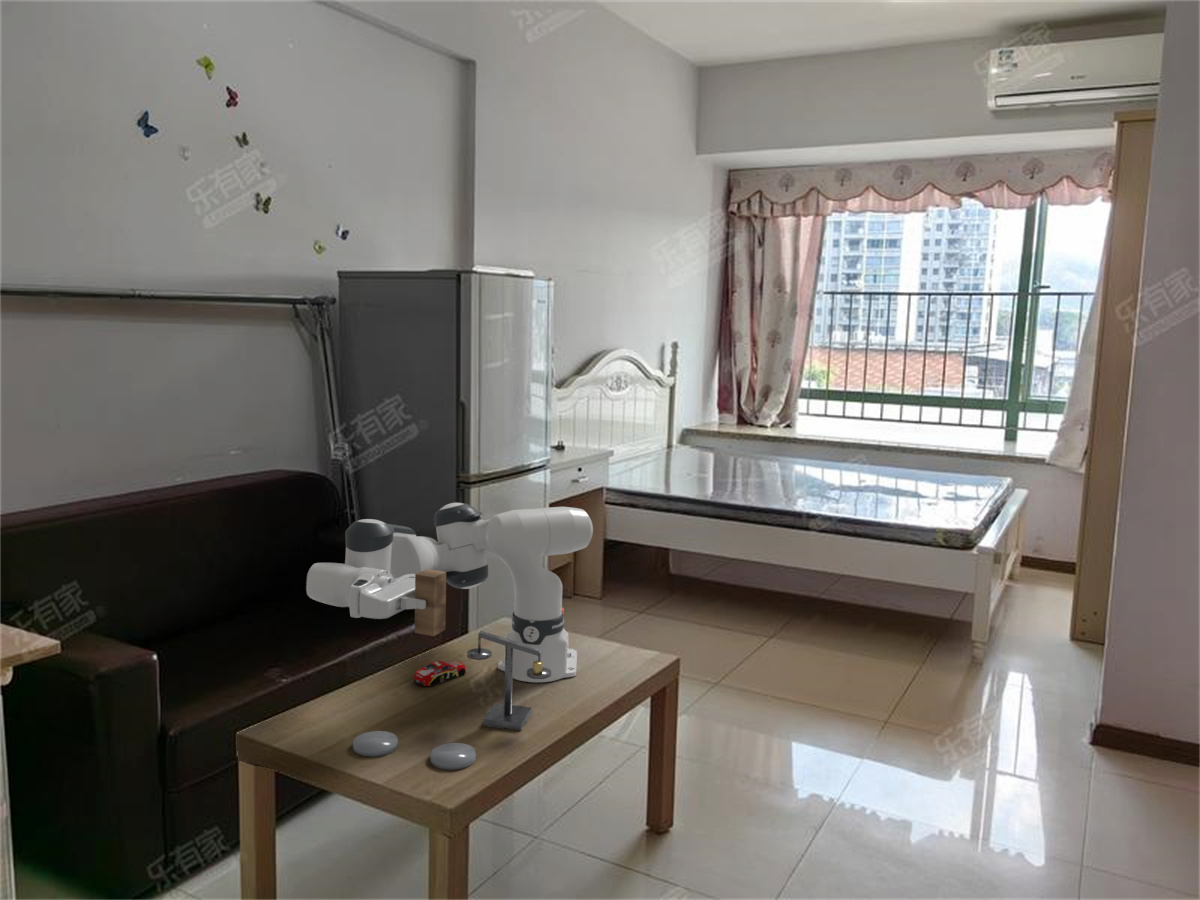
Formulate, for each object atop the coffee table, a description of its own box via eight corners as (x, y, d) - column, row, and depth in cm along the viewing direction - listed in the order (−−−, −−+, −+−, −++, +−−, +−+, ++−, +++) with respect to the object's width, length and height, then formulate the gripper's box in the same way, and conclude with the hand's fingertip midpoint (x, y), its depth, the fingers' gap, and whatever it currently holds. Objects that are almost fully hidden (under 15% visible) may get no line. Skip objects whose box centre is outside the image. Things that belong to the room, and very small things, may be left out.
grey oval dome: (364, 734, 184) (364, 728, 184) (404, 739, 183) (404, 733, 183) (345, 753, 176) (345, 747, 176) (387, 759, 175) (387, 753, 175)
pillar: (426, 626, 191) (427, 569, 189) (445, 629, 189) (446, 571, 188) (414, 632, 187) (415, 574, 185) (433, 636, 185) (434, 577, 183)
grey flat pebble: (439, 746, 181) (439, 740, 180) (481, 751, 179) (481, 745, 179) (423, 766, 172) (423, 760, 172) (467, 772, 171) (467, 766, 171)
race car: (455, 668, 221) (456, 652, 220) (470, 675, 217) (471, 658, 217) (409, 683, 211) (410, 666, 211) (424, 690, 208) (424, 672, 207)
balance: (472, 707, 199) (474, 624, 196) (554, 716, 196) (556, 632, 193) (460, 723, 191) (461, 636, 188) (544, 733, 188) (547, 645, 185)
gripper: (403, 592, 202) (460, 601, 197) (345, 619, 183) (406, 630, 178) (403, 563, 201) (460, 572, 196) (345, 588, 182) (406, 598, 177)
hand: (434, 600), depth 187 cm, fingers closed on pillar, 4 cm apart
